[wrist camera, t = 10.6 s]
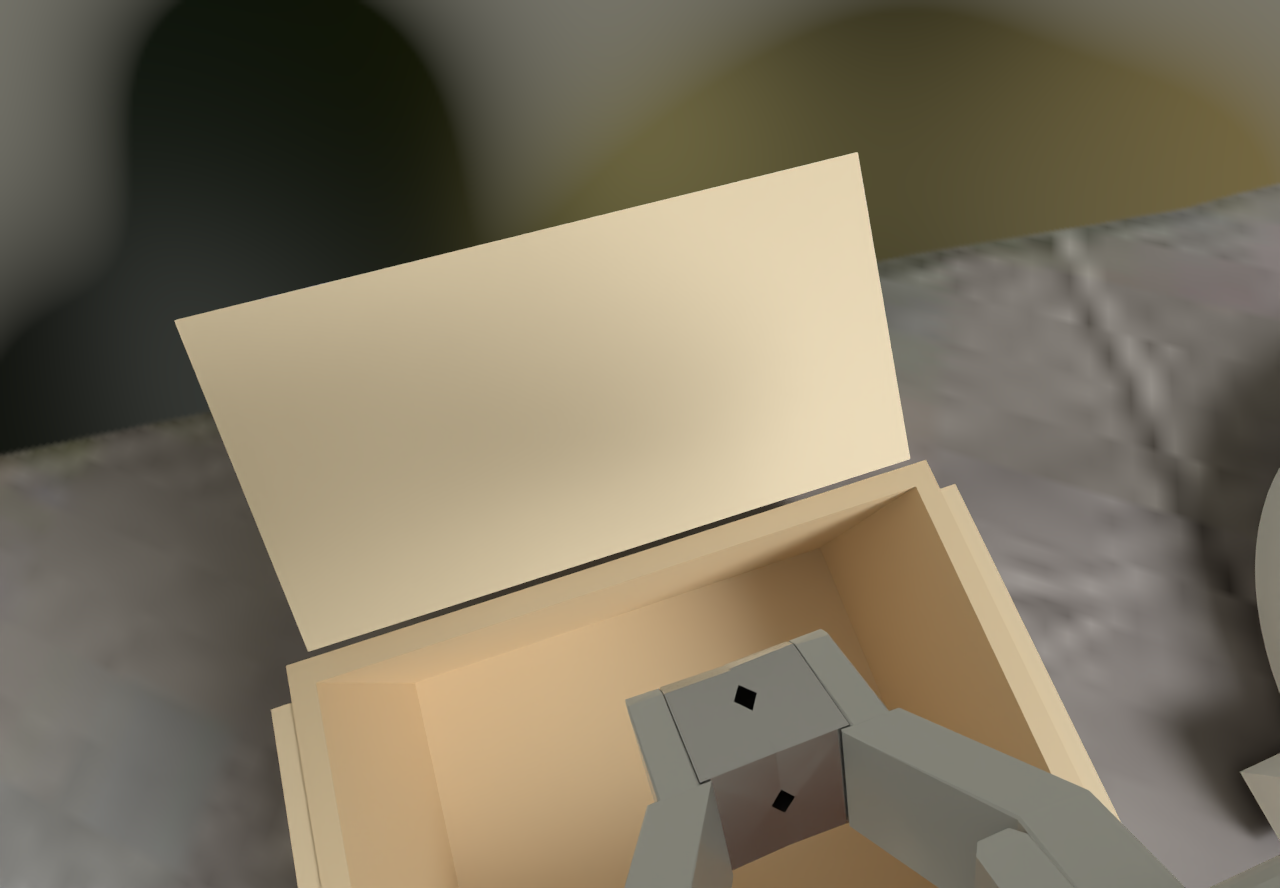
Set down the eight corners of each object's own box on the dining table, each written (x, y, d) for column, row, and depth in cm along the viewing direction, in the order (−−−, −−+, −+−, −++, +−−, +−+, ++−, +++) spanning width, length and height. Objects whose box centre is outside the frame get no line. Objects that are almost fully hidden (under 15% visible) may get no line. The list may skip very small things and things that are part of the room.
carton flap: (910, 459, 21) (857, 152, 19) (308, 651, 18) (173, 320, 16) (899, 455, 22) (847, 157, 20) (313, 641, 19) (185, 320, 17)
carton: (1025, 974, 27) (1287, 1155, 17) (493, 1214, 24) (407, 1620, 14) (835, 527, 32) (942, 454, 22) (384, 676, 29) (263, 672, 19)
